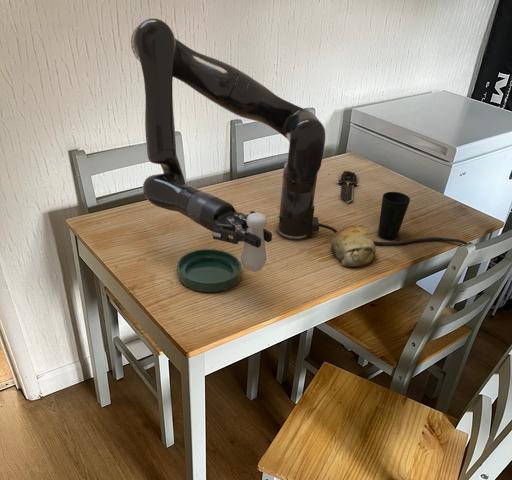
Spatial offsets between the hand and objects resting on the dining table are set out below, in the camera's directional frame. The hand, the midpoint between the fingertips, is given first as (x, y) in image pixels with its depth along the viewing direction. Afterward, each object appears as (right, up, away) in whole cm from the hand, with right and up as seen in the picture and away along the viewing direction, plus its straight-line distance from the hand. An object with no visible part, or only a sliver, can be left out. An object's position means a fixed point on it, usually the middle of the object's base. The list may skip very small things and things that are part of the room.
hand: (265, 240), depth 117 cm
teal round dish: (-14, -5, +20) cm, 25 cm away
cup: (+37, +9, +42) cm, 57 cm away
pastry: (+24, +2, +32) cm, 40 cm away
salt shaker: (-3, -5, +7) cm, 9 cm away
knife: (+29, +30, +66) cm, 78 cm away
